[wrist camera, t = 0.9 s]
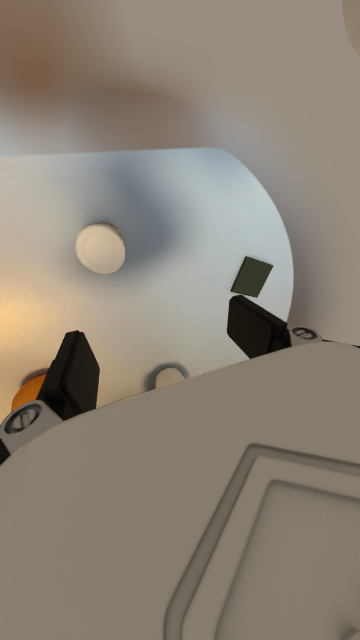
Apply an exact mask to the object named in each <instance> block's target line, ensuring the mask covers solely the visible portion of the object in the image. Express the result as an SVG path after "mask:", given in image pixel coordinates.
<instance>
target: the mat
mask: <svg viewBox="0 0 360 640" xmlns="http://www.w3.org/2000/svg"><path fill="white" fill-rule="evenodd" d="M272 268H273V265H270V264H267V263H264V262H261V261H258V260H256V259H253V258H250V257H247V256H246V257H245V259H244V261H243V264H242V266H241V268H240V270H239V273H238V275H237V277H236V280H235V282H234V284H233V287H232V289H231V292H234V293H238V294H243V295H247V296H252V297H256V298H257V297H258V295H259V293H260V291H261V289H262V287H263V285H264V283H265V281H266V279H267V277H268V275H269V273H270V271H271V270H272Z"/></svg>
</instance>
